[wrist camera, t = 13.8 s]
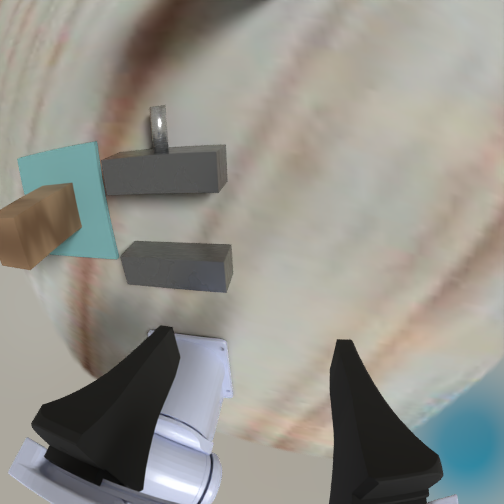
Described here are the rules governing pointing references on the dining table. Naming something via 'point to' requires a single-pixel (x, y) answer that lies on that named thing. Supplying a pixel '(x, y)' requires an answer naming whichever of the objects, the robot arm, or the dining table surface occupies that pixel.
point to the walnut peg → (37, 225)
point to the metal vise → (171, 181)
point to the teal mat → (76, 196)
